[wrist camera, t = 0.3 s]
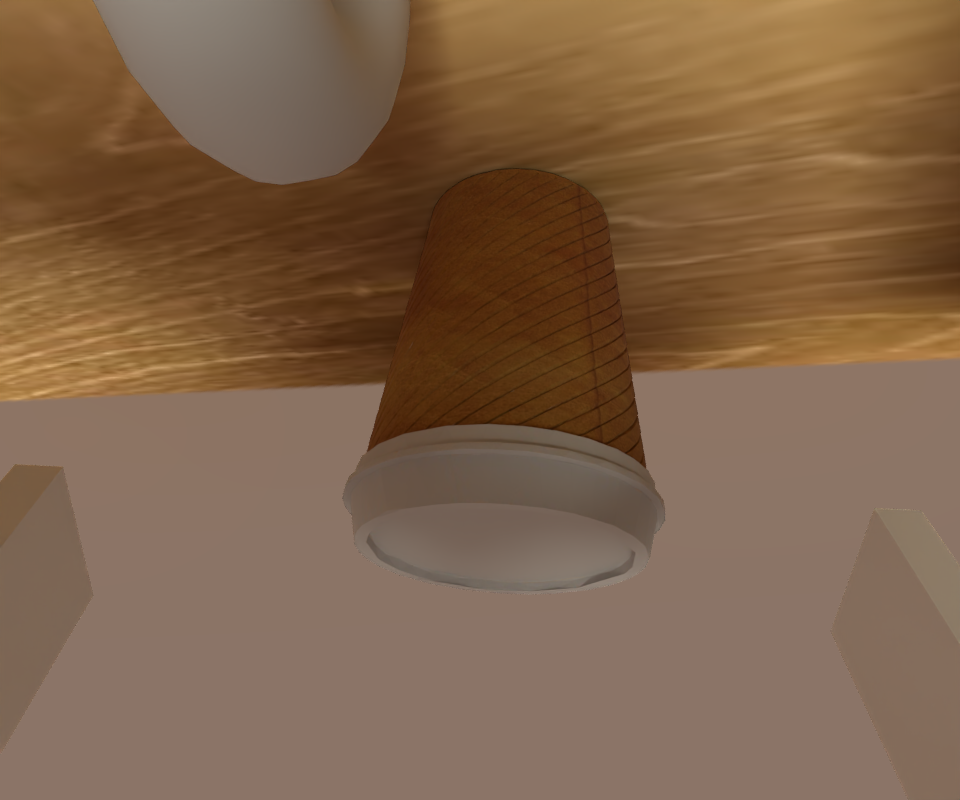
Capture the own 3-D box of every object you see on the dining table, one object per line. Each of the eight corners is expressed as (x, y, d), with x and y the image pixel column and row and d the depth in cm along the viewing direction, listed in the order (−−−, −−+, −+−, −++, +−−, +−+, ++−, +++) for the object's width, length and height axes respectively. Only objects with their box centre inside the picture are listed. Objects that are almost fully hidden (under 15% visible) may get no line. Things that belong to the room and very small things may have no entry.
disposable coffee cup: (466, 323, 36) (441, 605, 31) (331, 181, 29) (267, 518, 23) (688, 272, 32) (706, 588, 26) (597, 90, 25) (595, 475, 19)
